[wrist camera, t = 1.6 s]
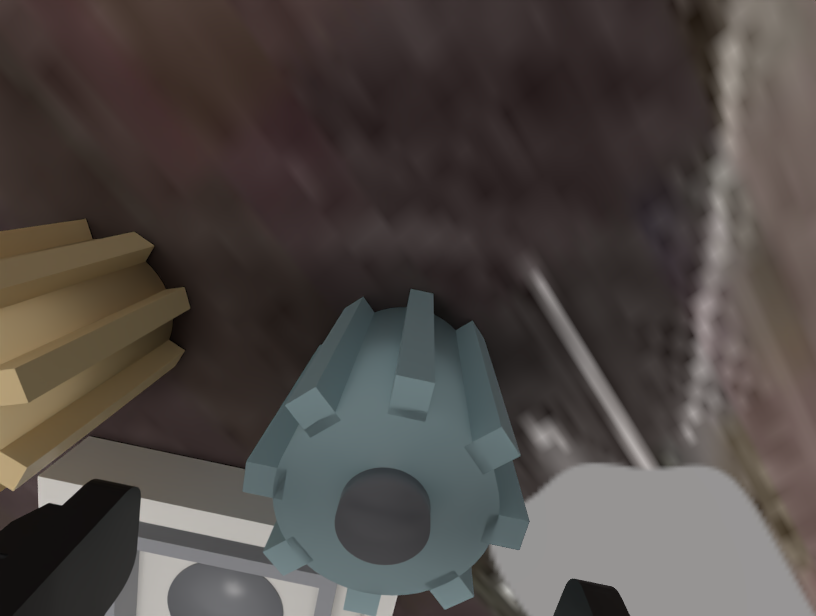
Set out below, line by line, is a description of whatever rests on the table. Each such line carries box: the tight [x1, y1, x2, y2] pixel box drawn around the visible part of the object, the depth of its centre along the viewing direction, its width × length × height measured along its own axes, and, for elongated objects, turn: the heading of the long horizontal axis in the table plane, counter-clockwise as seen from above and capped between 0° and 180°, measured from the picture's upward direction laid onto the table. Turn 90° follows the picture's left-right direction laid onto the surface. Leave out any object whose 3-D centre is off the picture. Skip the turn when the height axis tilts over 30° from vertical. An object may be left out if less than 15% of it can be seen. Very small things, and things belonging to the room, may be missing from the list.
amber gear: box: [0, 219, 191, 492], centre depth 13 cm, size 6×6×8 cm
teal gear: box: [242, 289, 530, 616], centre depth 13 cm, size 6×6×8 cm
